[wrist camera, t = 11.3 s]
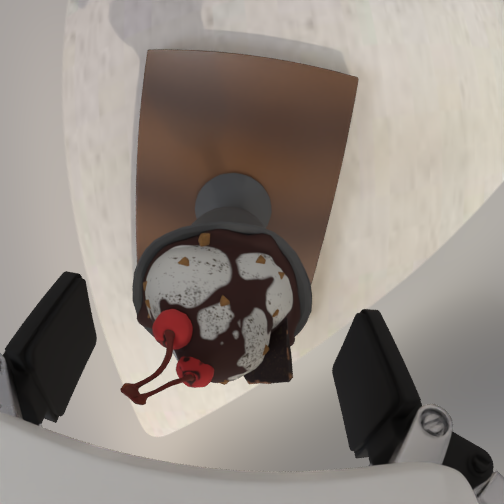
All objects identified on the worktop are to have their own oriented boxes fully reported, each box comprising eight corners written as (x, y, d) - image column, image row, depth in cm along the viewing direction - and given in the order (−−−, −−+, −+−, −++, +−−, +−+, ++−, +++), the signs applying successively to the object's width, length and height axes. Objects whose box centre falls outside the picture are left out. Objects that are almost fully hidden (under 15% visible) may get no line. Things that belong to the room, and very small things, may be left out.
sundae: (171, 169, 19) (31, 332, 5) (278, 153, 18) (354, 309, 5) (192, 260, 22) (138, 465, 9) (288, 248, 21) (332, 460, 8)
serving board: (154, 52, 16) (147, 49, 15) (351, 78, 17) (359, 77, 16) (144, 305, 26) (140, 316, 24) (294, 323, 27) (296, 334, 25)
